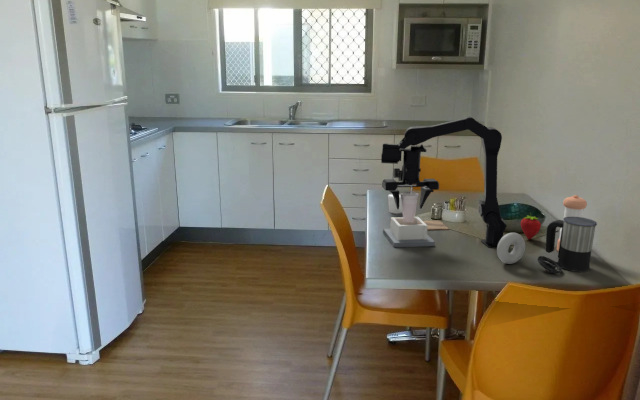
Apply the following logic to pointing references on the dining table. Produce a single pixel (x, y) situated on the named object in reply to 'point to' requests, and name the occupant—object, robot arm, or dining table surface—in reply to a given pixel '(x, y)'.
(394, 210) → the shot glass
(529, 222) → the strawberry
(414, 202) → the smoothie
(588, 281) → the dining table surface
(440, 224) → the coaster
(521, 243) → the donut
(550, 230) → the milk frother
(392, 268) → the dining table surface
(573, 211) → the pepper shaker
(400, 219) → the white open box
